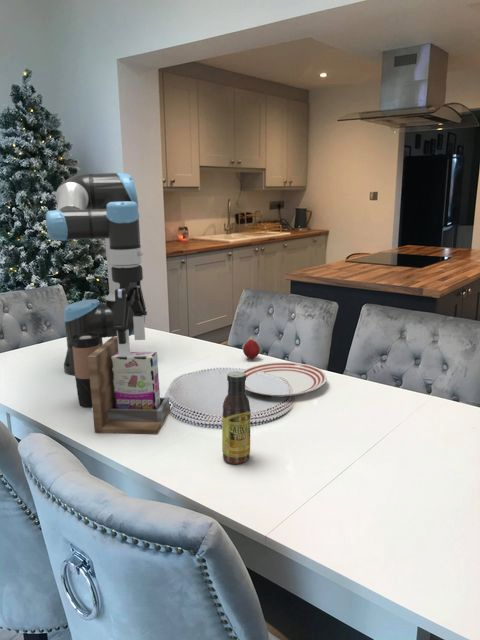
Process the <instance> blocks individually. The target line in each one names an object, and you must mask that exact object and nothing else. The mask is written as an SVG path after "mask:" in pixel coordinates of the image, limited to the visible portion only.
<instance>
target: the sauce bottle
mask: <svg viewBox="0 0 480 640" xmlns="http://www.w3.org/2000/svg"><path fill="white" fill-rule="evenodd" d="M226 380H227V383H228V384H227V395H226V396H225V398H224V401H223V403H222V415H221V416H222V423H221V424H222V427H221V430H222V433H221V434H222V438H221V440H222V441H221V443H222V444H221V445H222V448H221V449H222V459H223V460H224V461H225V462H226V463H230V464H236V465H237V464H243V463H245V462H247V461H249V459H250V453H251V419H252V418H251V413H252V412H251V406H250V400H249V398H248V396H247V394H246V391H247V390H246V389H245V381H246V374H245V373H244V372H242V371H238V370H237V371H230V372H227V377H226Z"/></svg>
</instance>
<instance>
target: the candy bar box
mask: <svg viewBox="0 0 480 640" xmlns="http://www.w3.org/2000/svg"><path fill="white" fill-rule="evenodd" d="M111 363H112V373H113V384H114V395H115V406H116V409H158V408H159V407H160V405H161V403H160V398H161V392H160V391H161V390H160V380H159V379H160V377H159V365H158V353H157V351H155V352H154V351H130V356H119V353H118V352H117V353H116V354H115V355H113V356H112V357H111Z"/></svg>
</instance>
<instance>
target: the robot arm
mask: <svg viewBox="0 0 480 640" xmlns="http://www.w3.org/2000/svg"><path fill="white" fill-rule="evenodd" d="M55 202H56V204H57V208H56V209H55V210H48V211H47V212H46V213H45V222H46V224H45V225H46V231H47V236H48V238H49V239H50V240H51V241H62V242H65V241H74V240H75V241H76V240H77V241H78V240H96V239H97V240H98V239H99V240H101V239H104V241H105V242H104V243H105V244H104V245H105V253H106V264H107V265H106V266H107V277H108V287H109V288H108V289H109V292H108V293H109V294H108V295H107V296H106V297H105V303H100V301H99V300H98V299H97V298H96V299H95V298H93V299H85V300H80V301H75V302H73V303H70V304H68V305H67V306H65V308H64V310H63V313H64V314H63V316H64V317H63V318H64V319H63V322H64V325H65V335H66V338H65V339H66V346H67V349H66V355H65V359H64V364H63V368H64V373H66V374H67V375H72V376H75V369H74V359H73V348H72V336H74V335H76V334H77V335H84V334H85V333H98V334H99V337H100V346H102V345H103V344H104V342H103V341H104V340H103V339H105V338H111V337H117V340H118V353H119V356H130V352H131V347H130V343H131V342H130V337H131V336H134V340H135V341H145V340H146V331H145V324H146V316H147V315H148V311H147V307H146V302H145V300H144V295H143V290H142V285H141V281H142V280H143V279H144V277H143V276H144V275H143V266H142V265H141V264H142V256H144V252H143V251H142V249H141V248H142V247H141V246H142V245H141V235H140V234H141V233H140V232H141V231H140V213H139V200H138V194H137V189H136V186H135V181H134V178H133V176H132V175H130V174H129V173H123V172H122V173H121V172H120V173H119V172H114V173H113V172H112V173H111V172H110V173H107V172H105V173H80V174H77V175H73V176H71V177H69V178H67V179H66V180H64V181H63V182H62V183H60V185H59V186H58V187H57V189H56V193H55Z"/></svg>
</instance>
